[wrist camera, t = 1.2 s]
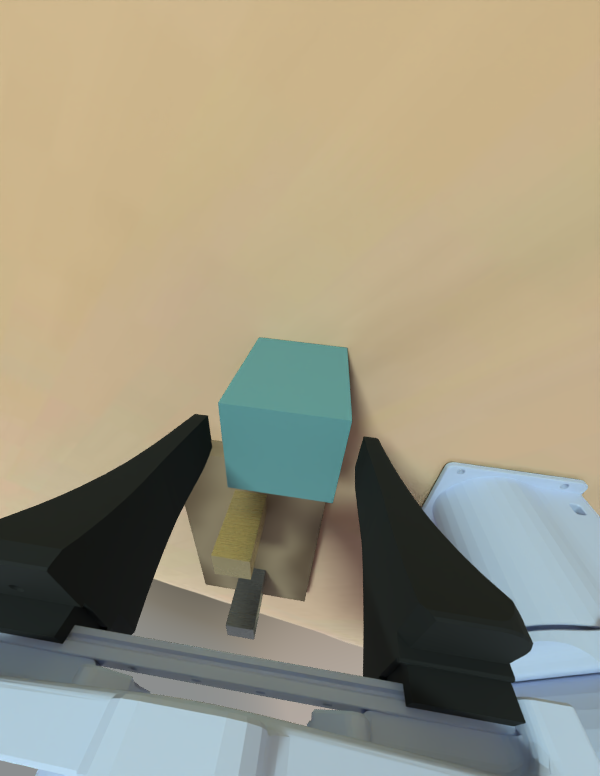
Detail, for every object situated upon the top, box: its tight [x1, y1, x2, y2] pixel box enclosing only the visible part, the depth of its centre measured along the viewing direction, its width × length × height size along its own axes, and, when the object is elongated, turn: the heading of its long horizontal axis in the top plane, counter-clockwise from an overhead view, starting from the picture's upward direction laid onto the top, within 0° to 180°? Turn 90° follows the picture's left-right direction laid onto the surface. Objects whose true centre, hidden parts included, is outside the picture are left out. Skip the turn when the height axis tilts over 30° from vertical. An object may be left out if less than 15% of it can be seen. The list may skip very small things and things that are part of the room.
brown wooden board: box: [185, 440, 325, 601], centre depth 27 cm, size 12×23×2 cm, turn 175°
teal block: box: [218, 337, 352, 503], centre depth 15 cm, size 5×5×7 cm
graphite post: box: [226, 568, 266, 639], centre depth 28 cm, size 3×3×5 cm
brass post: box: [211, 490, 267, 580], centre depth 21 cm, size 3×3×5 cm
